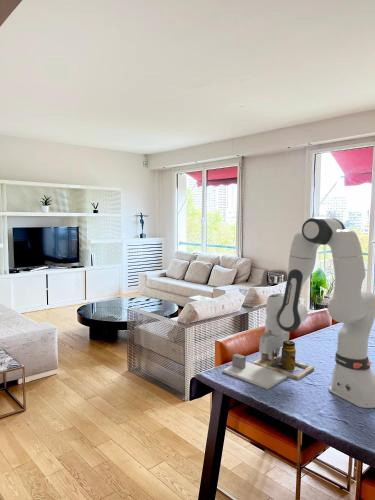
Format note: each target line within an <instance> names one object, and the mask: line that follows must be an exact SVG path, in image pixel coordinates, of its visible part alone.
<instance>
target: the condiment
mask: <svg viewBox="0 0 375 500" xmlns="http://www.w3.org/2000/svg"><path fill="white" fill-rule="evenodd" d="M296 350H297V349H296V342H295V341H293V340H289V341H284V342H283V346H282V347H281V355H282V356H281V355H280V356H281V362H280V363H278V364H275V365H274V368H277V369H280V370H283V371H286V372H295V371H297V372H298V371H299V369H298V368H296V367H295V366H296V365H295V361H296Z"/></svg>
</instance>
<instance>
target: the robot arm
mask: <svg viewBox="0 0 375 500" xmlns="http://www.w3.org/2000/svg"><path fill="white" fill-rule="evenodd" d="M323 245H324V246H326V245H327V246H329V248H330V250H331V255H332V256H331V257H332V263H333V269H334V270H333V271H334V289H333V294H332V297H331V300H329V302H328V306H327V310H328V311H327V312H328V314H329V317H330V318H331V319H332V320H334V322H336V323H343V324H342V327H341V328H340V329H339V331H338V334H337V341H336V342H337V343H336V344H337V346H336V351H335V354H334V361H335V365H334V368H333V370H332V375H331V376H332V377H331V382H330V386H329V387H328V391H329V392H330V393H332V394H334V395H336V396H338V397H340V398H342V399H343V400H345V401H347V402H348V403H351V404H353V405H355V406H357V407H359V408H365V409H375V373H374V372H373V370H372V369H371V366H372V364H373V362H372V361H370V360H369V356H368V352H369V351H368V348H369V338H370V335H371V334H370V333H371V330H372V328H373V324H374V321H375V293H374V292H371V291H366V290H362V287H363V281H365V278H366V269H365V262H364V255H363V250H362V246H361V242H360V239H359V236H358V235H357V233H356V232H355V231H353V230H351V229H346V227H345V224H344V223H343V222H342V221H340V220H339V219H337V218H331V217H327V216H314V217H313V216H312V217H310V218H308V219H307V220H305V221H304V223H303V224H302V227H301V231H298V232H297V233H296V234H295V235H294V236H293V239H292V241H291V245H290V250H289V258H288V269H287V278H286V285H285V289H284V293H274V294H270V295H269V296H268V297H267V300H266V306H265V315H266V318H265V322H264V325H265V326H264V332H263V334H262V335H261V337H260V339H259V346H258V351H259V352H260V353H264V354H267V353H268V355H269V359H270V360H272V359H274V358H273V357H278V356H280V352H281V348H282V347H283V342H284V341H290V340H289V339H290V333H292V332H295V331H297V330H298V328H299V327H300V326H301V325H302V324H303V323H304V322H305V321H306V320H307V319H308V316H309V315H308V310H307V308H306V306H305V305H304V304H301V303H300V297H301V293H302V289H303V287H304V285H305V282H306V281H307V280H308V279H309V277H311V275H312V274H313V271H314V268H315V265H316V260H317V253H318V249H319V247H320V246H323ZM273 350H274V355H272V353H273Z"/></svg>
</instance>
